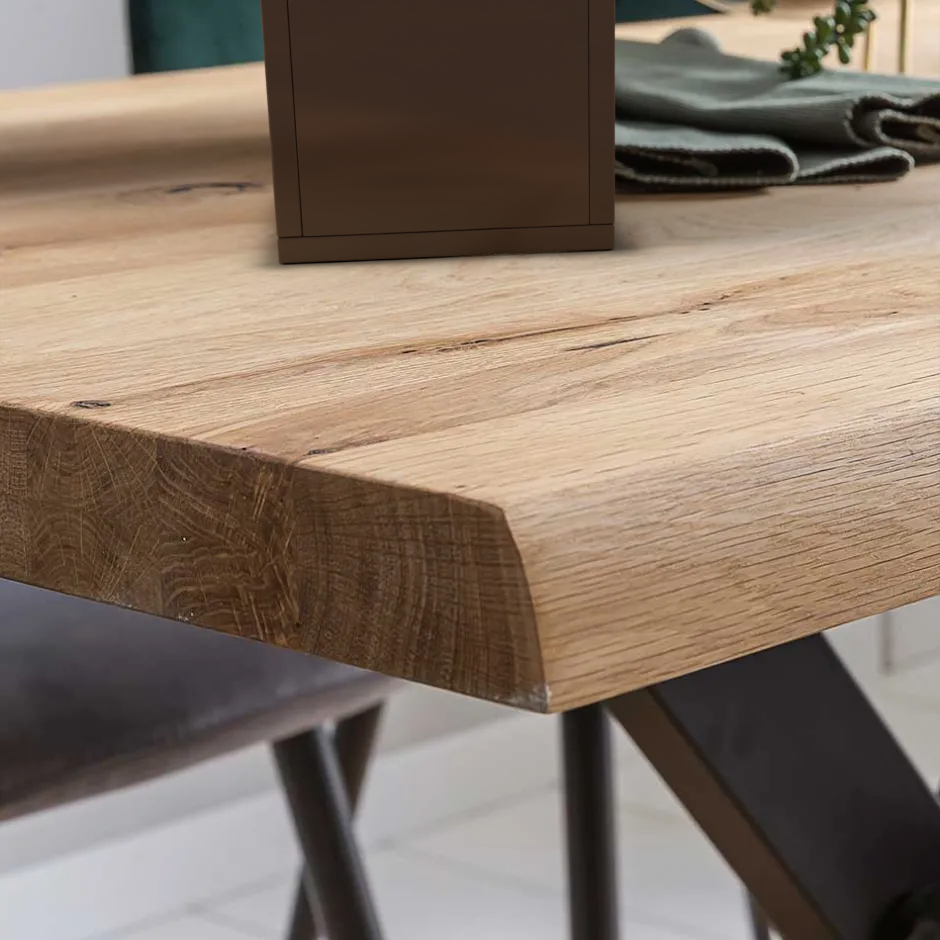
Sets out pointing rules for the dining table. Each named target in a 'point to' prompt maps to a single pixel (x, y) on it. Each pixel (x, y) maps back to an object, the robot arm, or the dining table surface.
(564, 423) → the dining table surface
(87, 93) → the dining table surface
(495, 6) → the cabinet
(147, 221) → the dining table surface
